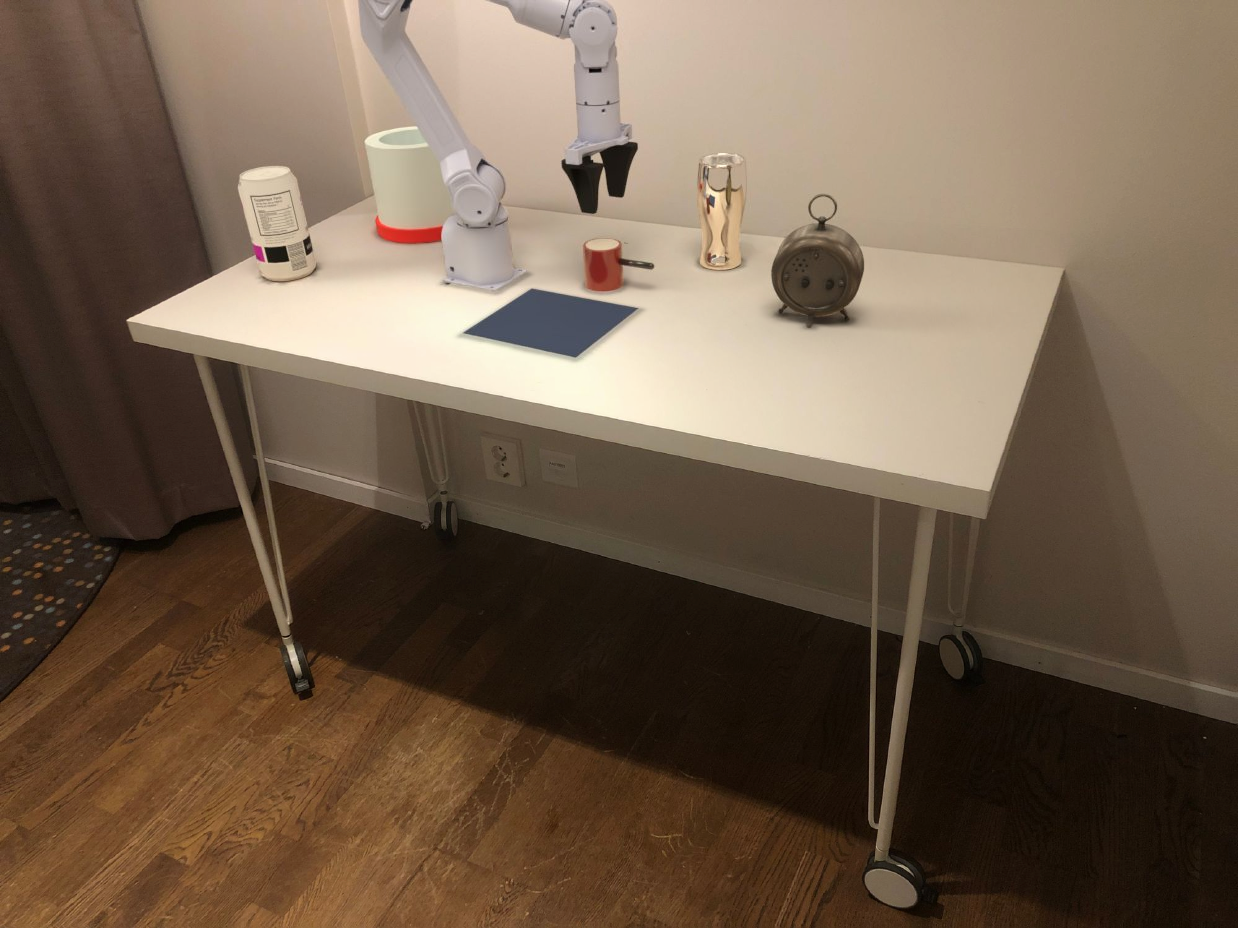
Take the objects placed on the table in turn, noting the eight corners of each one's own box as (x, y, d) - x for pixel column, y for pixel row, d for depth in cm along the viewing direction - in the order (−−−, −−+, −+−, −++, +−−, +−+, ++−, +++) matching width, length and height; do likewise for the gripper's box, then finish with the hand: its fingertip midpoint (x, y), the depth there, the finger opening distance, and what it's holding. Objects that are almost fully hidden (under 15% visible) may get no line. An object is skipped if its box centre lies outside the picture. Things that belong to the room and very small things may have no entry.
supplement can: (249, 280, 139) (222, 179, 131) (285, 260, 145) (261, 163, 137) (293, 285, 136) (268, 183, 128) (328, 265, 143) (306, 166, 134)
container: (491, 216, 159) (481, 128, 151) (439, 247, 147) (425, 153, 139) (413, 208, 165) (399, 122, 157) (357, 237, 153) (339, 146, 145)
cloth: (462, 334, 119) (462, 332, 119) (531, 290, 131) (531, 288, 131) (575, 359, 112) (575, 357, 112) (638, 310, 124) (638, 308, 124)
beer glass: (742, 272, 133) (745, 166, 125) (693, 270, 135) (693, 165, 127) (746, 255, 139) (749, 152, 131) (699, 253, 140) (700, 152, 132)
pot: (578, 289, 131) (575, 248, 127) (597, 276, 134) (595, 235, 131) (645, 301, 126) (644, 258, 123) (663, 287, 130) (662, 245, 127)
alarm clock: (859, 316, 119) (872, 190, 110) (853, 334, 115) (867, 204, 106) (774, 308, 122) (780, 184, 114) (766, 325, 118) (772, 198, 109)
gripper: (596, 116, 115) (601, 224, 122) (650, 92, 125) (652, 192, 132) (548, 111, 118) (556, 217, 125) (605, 88, 128) (609, 187, 135)
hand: (603, 204), depth 129 cm, fingers open, 7 cm apart
